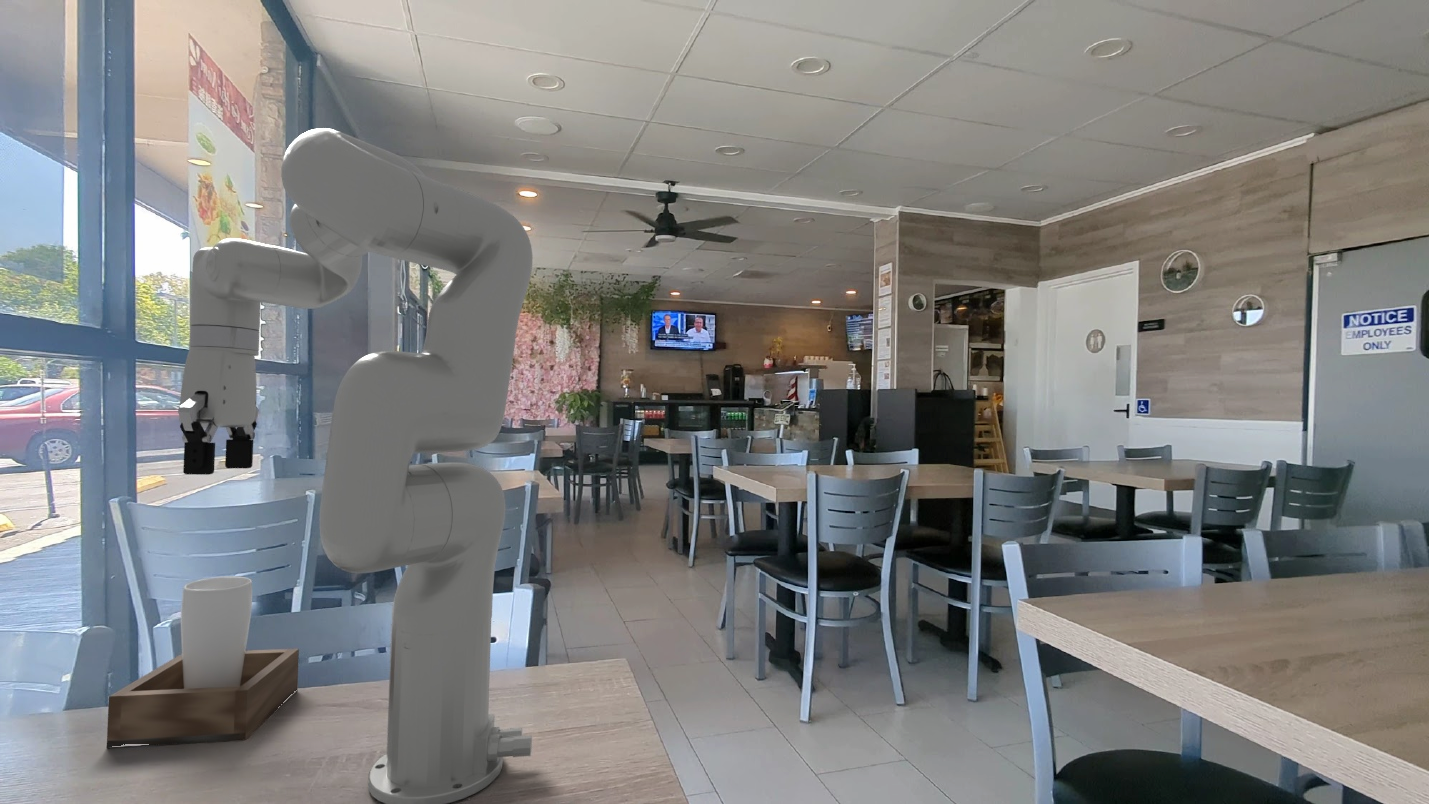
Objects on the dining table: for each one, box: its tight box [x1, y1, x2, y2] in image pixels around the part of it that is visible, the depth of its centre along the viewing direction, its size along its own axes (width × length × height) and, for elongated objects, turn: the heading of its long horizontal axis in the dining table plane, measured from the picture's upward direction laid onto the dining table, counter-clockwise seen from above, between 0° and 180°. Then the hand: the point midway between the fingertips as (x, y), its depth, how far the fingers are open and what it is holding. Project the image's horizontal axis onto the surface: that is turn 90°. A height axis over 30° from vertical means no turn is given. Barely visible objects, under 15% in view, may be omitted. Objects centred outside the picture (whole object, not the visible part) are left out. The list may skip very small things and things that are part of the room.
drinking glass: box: [180, 576, 253, 689], centre depth 80 cm, size 7×7×15 cm
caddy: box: [106, 648, 300, 749], centre depth 80 cm, size 13×13×6 cm
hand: (219, 471), depth 89 cm, fingers open, 9 cm apart
